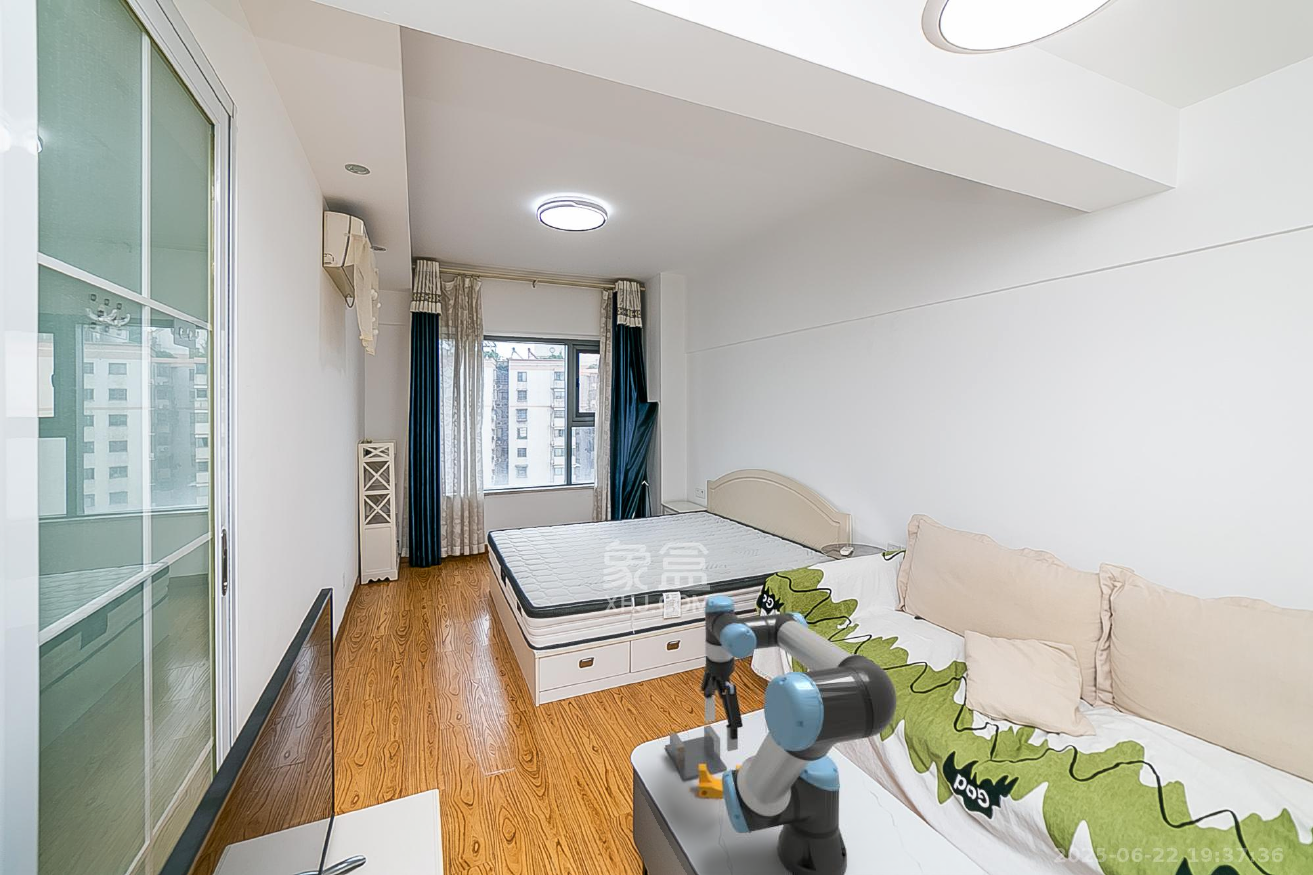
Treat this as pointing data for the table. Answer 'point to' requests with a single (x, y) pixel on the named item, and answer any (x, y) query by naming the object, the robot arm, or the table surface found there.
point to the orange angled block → (710, 784)
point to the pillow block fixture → (696, 754)
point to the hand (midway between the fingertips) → (720, 734)
